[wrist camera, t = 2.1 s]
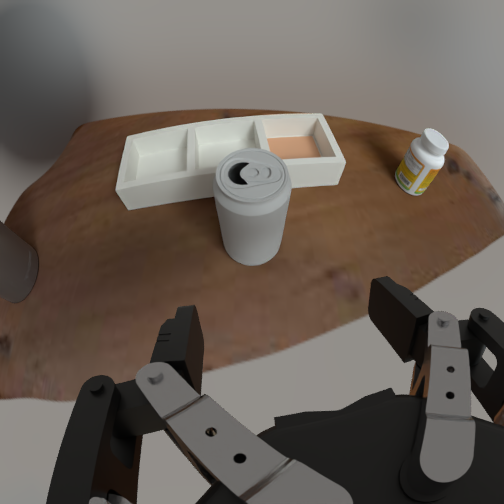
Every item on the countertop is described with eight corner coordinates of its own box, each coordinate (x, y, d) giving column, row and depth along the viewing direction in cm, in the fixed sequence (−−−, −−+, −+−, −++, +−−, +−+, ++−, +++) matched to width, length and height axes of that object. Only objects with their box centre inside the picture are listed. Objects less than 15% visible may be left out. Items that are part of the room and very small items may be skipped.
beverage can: (226, 217, 33) (215, 143, 22) (280, 219, 33) (291, 145, 22) (221, 267, 30) (204, 204, 19) (280, 269, 30) (295, 207, 19)
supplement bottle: (423, 177, 36) (450, 135, 27) (423, 201, 34) (455, 159, 25) (394, 164, 37) (418, 118, 28) (393, 188, 35) (421, 141, 26)
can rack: (128, 210, 33) (115, 190, 29) (136, 155, 38) (127, 134, 34) (337, 184, 35) (346, 162, 31) (316, 134, 39) (321, 112, 35)
